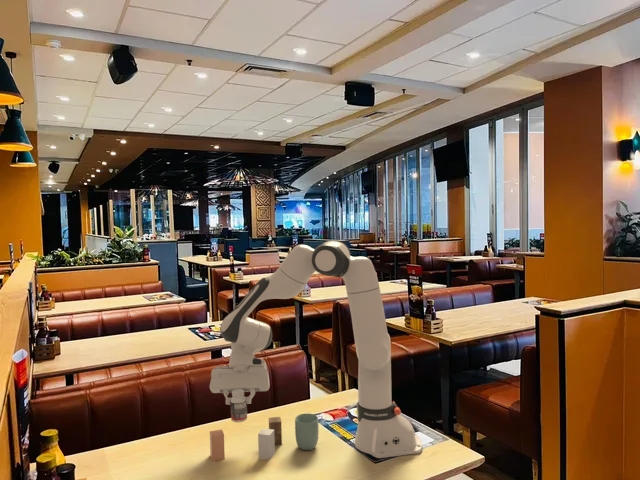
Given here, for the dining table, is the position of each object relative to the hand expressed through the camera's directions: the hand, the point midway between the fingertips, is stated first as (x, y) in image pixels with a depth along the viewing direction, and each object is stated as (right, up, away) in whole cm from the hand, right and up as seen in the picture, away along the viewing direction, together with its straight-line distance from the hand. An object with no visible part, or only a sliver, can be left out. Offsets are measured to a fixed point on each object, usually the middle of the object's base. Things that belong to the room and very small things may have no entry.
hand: (238, 403), depth 158 cm
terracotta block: (-6, -16, -5) cm, 17 cm away
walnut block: (+12, -15, +5) cm, 20 cm away
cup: (+23, -15, +1) cm, 28 cm away
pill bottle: (0, -6, +1) cm, 6 cm away
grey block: (+10, -15, -4) cm, 19 cm away
